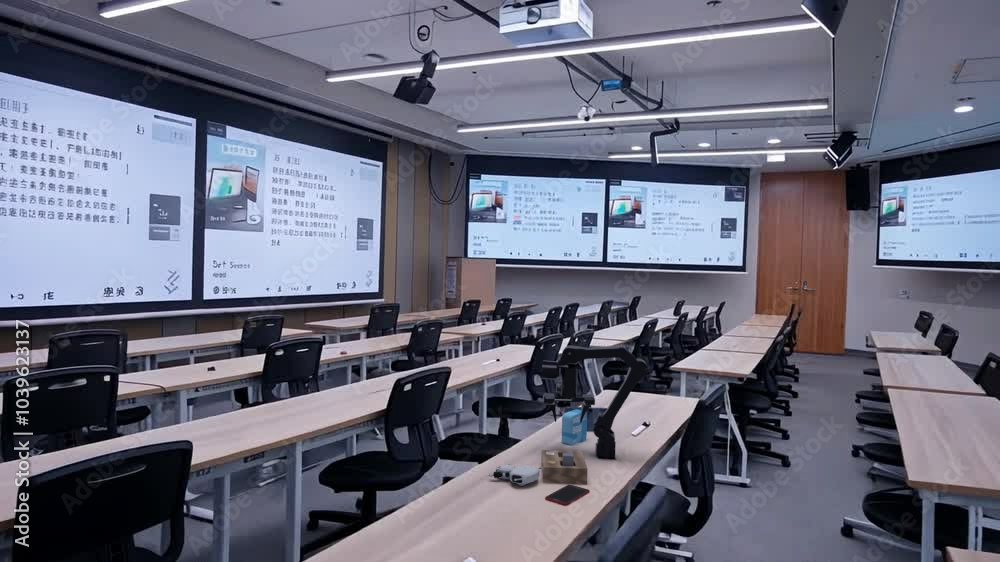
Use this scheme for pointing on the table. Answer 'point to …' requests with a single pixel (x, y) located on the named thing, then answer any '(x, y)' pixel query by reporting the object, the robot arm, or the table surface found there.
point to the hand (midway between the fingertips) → (568, 422)
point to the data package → (573, 427)
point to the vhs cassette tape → (589, 415)
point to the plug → (567, 459)
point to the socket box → (563, 468)
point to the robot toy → (517, 473)
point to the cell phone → (567, 495)
